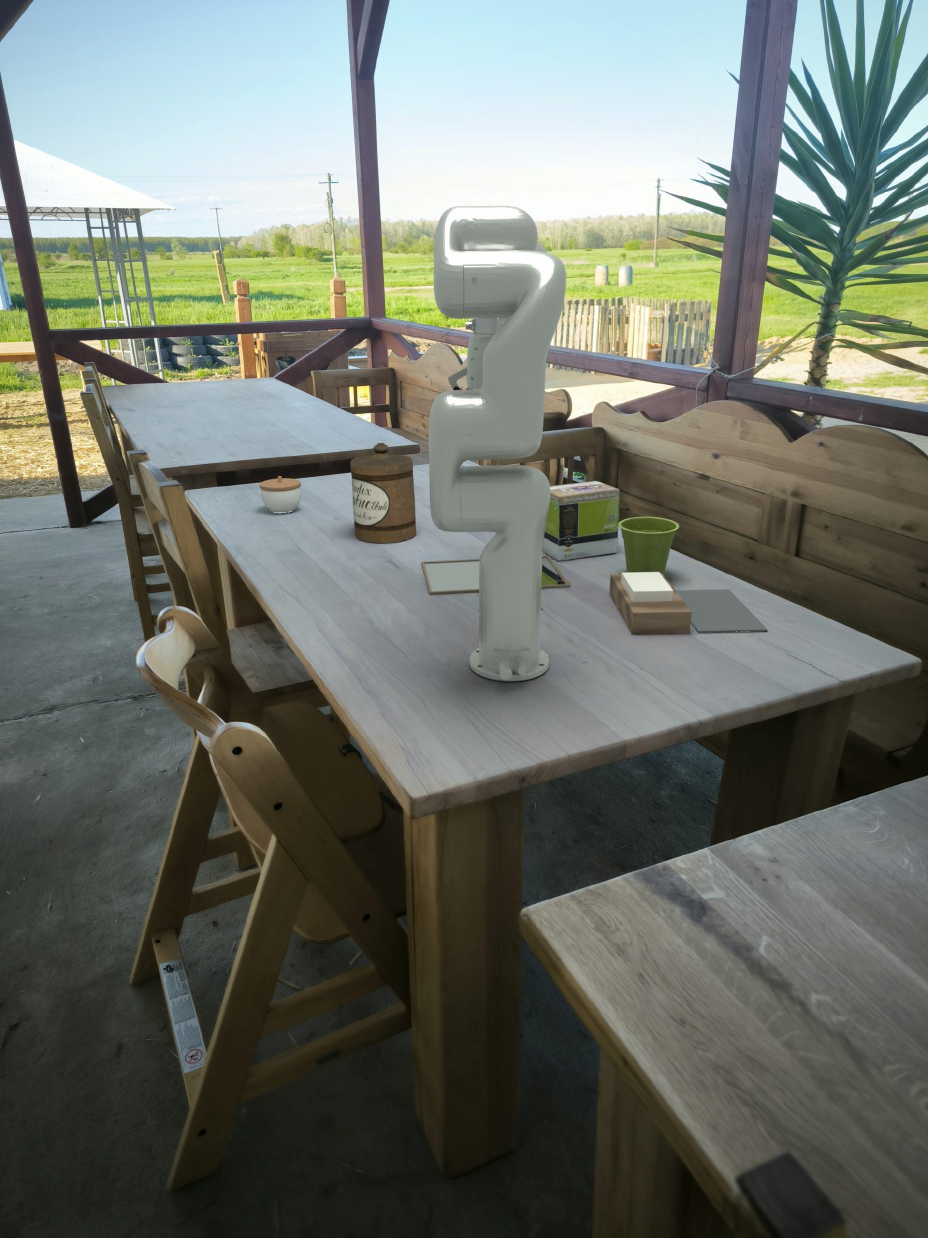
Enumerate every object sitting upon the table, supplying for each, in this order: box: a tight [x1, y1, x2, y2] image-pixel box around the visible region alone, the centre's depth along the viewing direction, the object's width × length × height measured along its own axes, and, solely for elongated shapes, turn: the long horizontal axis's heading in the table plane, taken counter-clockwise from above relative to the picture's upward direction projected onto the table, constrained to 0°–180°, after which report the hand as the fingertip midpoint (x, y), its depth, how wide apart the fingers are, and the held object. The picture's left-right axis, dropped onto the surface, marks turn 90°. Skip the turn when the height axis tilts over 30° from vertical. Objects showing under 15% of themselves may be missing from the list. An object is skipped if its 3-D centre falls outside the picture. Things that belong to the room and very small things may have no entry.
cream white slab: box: [621, 572, 673, 602], centre depth 147 cm, size 10×7×2 cm
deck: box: [608, 573, 692, 635], centre depth 148 cm, size 20×10×4 cm, turn 2°
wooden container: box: [349, 442, 417, 544], centre depth 193 cm, size 15×15×22 cm
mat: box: [675, 588, 768, 634], centre depth 149 cm, size 20×12×1 cm, turn 2°
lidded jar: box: [259, 475, 302, 513], centre depth 217 cm, size 11×11×9 cm
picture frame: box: [420, 554, 571, 596], centre depth 169 cm, size 19×1×28 cm
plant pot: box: [618, 516, 680, 576], centre depth 165 cm, size 12×12×11 cm
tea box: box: [543, 480, 621, 562], centre depth 180 cm, size 15×10×15 cm, turn 111°
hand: (492, 420), depth 159 cm, fingers open, 9 cm apart
